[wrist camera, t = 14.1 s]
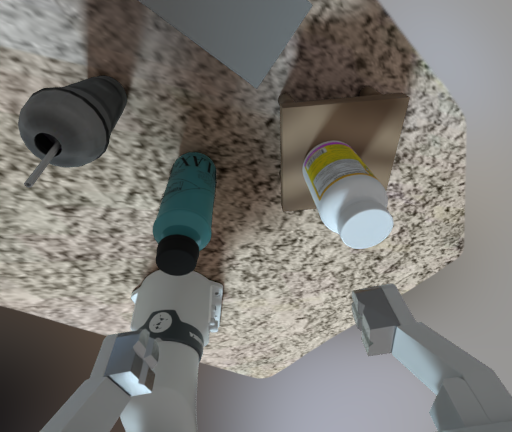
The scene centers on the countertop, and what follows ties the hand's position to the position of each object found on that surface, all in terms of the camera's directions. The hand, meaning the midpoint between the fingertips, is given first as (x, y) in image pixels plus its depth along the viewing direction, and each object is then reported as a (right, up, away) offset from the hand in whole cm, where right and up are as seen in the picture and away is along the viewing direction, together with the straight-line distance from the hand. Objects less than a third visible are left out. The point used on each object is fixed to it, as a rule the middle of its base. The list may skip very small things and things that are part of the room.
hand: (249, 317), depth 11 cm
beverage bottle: (-9, +12, +32) cm, 36 cm away
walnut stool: (+10, +16, +31) cm, 36 cm away
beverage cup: (-18, +19, +25) cm, 37 cm away
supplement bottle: (+9, +11, +25) cm, 28 cm away
